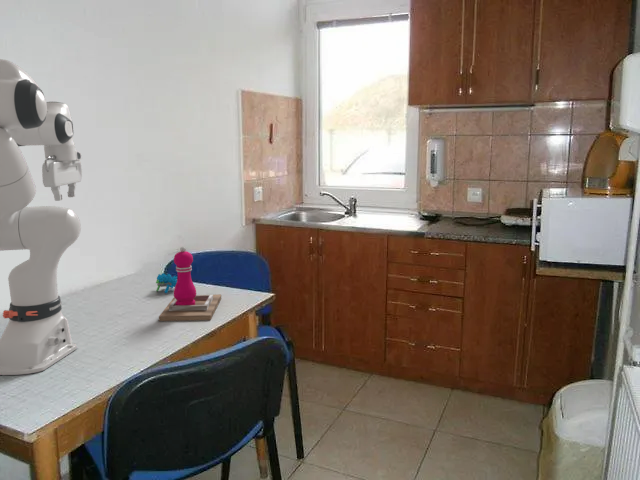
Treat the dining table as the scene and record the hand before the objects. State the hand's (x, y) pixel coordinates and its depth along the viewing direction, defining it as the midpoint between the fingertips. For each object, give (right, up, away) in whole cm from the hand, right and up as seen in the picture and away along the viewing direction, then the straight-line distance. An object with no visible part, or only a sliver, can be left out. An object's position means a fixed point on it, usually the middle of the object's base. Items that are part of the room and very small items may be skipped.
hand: (65, 198), depth 169 cm
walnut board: (+39, -36, +6) cm, 54 cm away
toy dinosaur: (+26, -32, +27) cm, 49 cm away
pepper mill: (+38, -35, +3) cm, 52 cm away
